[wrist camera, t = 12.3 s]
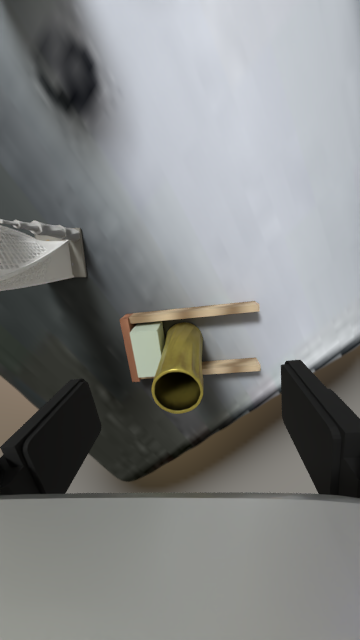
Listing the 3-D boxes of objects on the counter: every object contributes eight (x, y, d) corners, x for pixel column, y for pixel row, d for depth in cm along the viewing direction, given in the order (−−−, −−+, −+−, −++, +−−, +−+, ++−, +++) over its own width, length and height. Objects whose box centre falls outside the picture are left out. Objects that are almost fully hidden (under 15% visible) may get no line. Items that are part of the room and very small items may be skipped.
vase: (210, 342, 35) (220, 397, 21) (181, 363, 36) (173, 427, 22) (186, 314, 34) (181, 353, 20) (158, 336, 35) (134, 387, 21)
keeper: (162, 321, 34) (157, 330, 30) (168, 361, 36) (164, 375, 31) (137, 323, 34) (129, 332, 30) (145, 363, 36) (138, 377, 32)
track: (254, 301, 32) (260, 305, 29) (256, 363, 35) (261, 373, 32) (126, 314, 34) (119, 319, 31) (137, 371, 37) (132, 382, 34)
